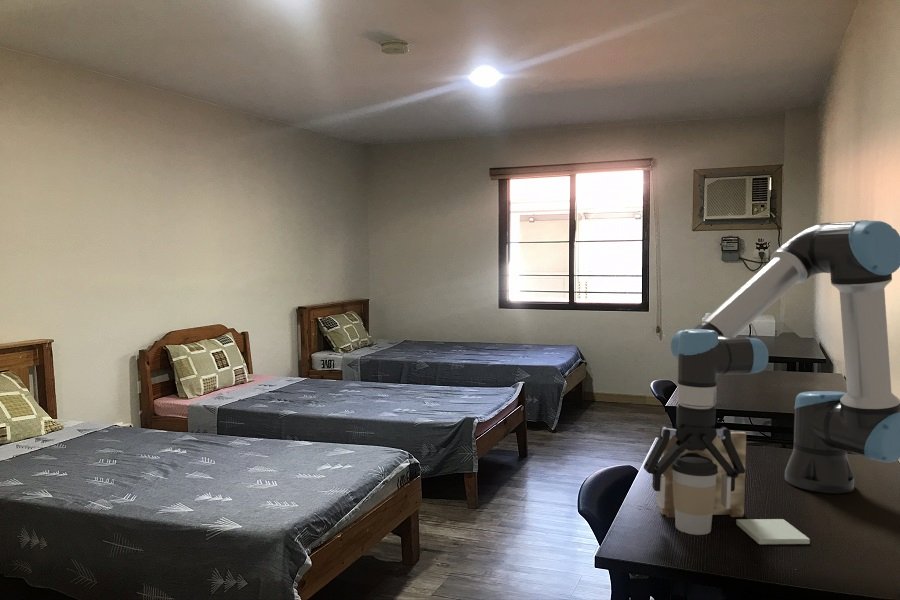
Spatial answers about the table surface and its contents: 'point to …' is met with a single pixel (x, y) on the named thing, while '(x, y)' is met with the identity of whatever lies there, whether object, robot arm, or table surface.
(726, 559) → the table surface
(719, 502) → the screen
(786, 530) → the mat
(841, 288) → the robot arm
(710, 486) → the coffee cup
